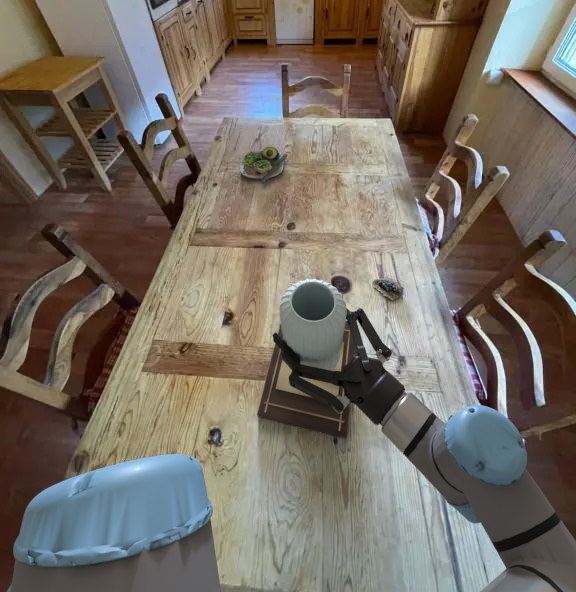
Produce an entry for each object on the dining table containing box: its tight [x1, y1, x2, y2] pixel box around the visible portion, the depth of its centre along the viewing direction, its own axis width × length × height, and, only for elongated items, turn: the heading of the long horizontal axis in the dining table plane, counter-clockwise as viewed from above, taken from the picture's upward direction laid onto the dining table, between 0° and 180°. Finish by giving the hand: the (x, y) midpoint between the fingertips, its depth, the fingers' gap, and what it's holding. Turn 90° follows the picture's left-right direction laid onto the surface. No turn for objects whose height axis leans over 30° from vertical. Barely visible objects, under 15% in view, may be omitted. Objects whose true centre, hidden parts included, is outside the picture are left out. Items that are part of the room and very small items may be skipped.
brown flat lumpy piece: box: [372, 277, 405, 301], centre depth 89 cm, size 7×8×2 cm
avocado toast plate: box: [239, 146, 288, 183], centre depth 128 cm, size 19×18×5 cm
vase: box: [279, 278, 348, 380], centre depth 64 cm, size 12×12×22 cm
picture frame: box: [256, 320, 355, 440], centre depth 76 cm, size 24×18×2 cm
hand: (298, 315), depth 66 cm, fingers closed on vase, 11 cm apart
